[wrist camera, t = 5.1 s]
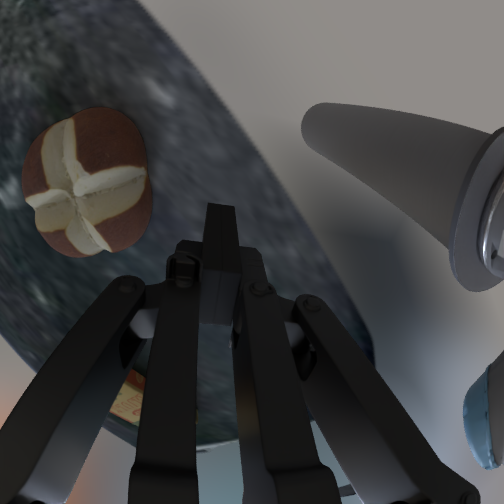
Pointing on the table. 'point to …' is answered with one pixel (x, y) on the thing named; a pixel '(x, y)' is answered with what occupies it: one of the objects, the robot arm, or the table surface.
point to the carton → (131, 399)
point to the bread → (89, 183)
